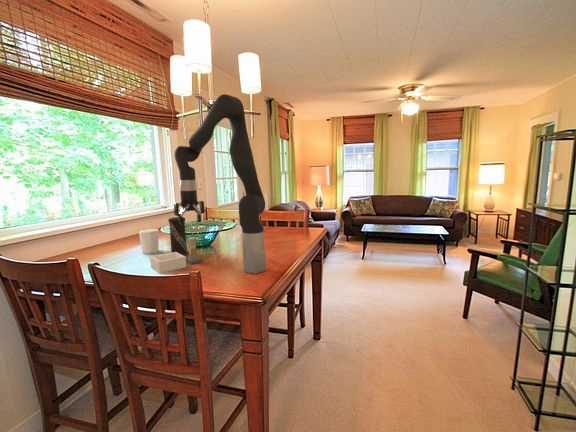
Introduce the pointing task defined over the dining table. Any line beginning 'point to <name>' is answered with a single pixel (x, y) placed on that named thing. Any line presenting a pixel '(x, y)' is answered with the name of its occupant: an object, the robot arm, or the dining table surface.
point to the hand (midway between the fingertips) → (190, 223)
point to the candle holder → (149, 240)
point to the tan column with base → (192, 252)
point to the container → (177, 236)
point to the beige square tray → (168, 262)
